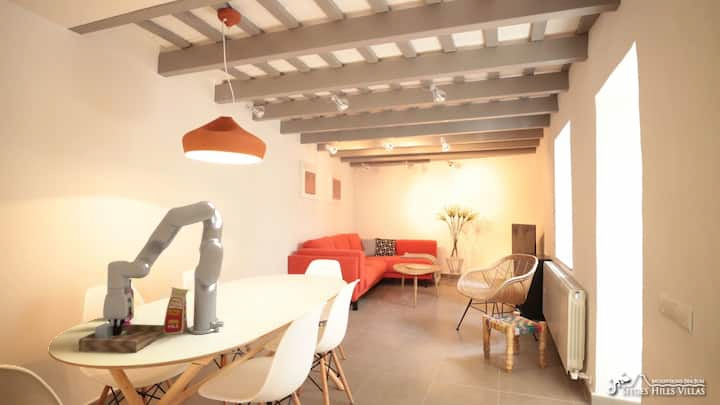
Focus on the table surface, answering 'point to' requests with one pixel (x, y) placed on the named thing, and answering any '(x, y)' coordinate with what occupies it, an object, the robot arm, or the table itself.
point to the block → (104, 331)
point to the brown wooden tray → (124, 339)
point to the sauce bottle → (132, 296)
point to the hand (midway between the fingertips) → (117, 334)
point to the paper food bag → (176, 313)
